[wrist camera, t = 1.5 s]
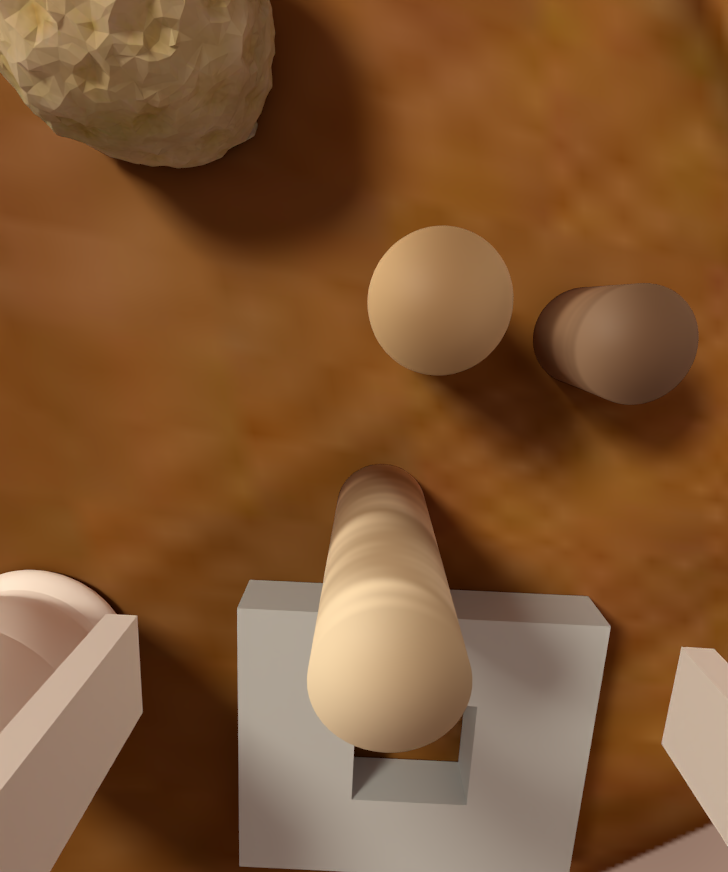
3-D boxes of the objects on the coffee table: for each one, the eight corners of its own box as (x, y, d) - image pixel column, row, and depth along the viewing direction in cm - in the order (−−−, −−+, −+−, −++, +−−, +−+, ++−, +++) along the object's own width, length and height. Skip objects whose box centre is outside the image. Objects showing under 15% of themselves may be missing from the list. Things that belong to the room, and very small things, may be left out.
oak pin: (366, 350, 23) (364, 371, 15) (371, 251, 22) (371, 222, 15) (460, 354, 23) (505, 378, 15) (468, 256, 22) (521, 229, 15)
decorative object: (129, 189, 25) (148, 269, 18) (-94, -75, 18) (-206, -116, 11) (292, 67, 25) (377, 100, 18) (127, -253, 18) (158, -413, 11)
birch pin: (335, 544, 25) (305, 748, 14) (338, 461, 24) (308, 604, 13) (421, 548, 25) (464, 756, 14) (428, 466, 24) (480, 613, 13)
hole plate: (250, 819, 29) (239, 866, 27) (250, 579, 26) (237, 608, 23) (550, 834, 29) (567, 882, 27) (588, 596, 26) (610, 626, 23)
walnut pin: (527, 381, 23) (569, 402, 19) (538, 285, 23) (585, 280, 18) (620, 385, 23) (686, 407, 19) (635, 289, 23) (709, 286, 18)
